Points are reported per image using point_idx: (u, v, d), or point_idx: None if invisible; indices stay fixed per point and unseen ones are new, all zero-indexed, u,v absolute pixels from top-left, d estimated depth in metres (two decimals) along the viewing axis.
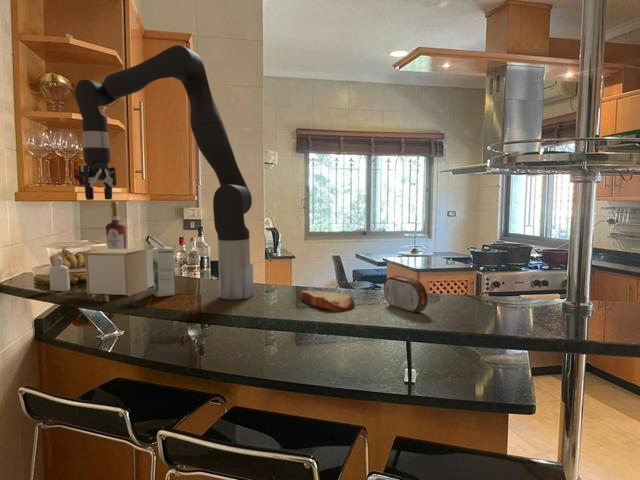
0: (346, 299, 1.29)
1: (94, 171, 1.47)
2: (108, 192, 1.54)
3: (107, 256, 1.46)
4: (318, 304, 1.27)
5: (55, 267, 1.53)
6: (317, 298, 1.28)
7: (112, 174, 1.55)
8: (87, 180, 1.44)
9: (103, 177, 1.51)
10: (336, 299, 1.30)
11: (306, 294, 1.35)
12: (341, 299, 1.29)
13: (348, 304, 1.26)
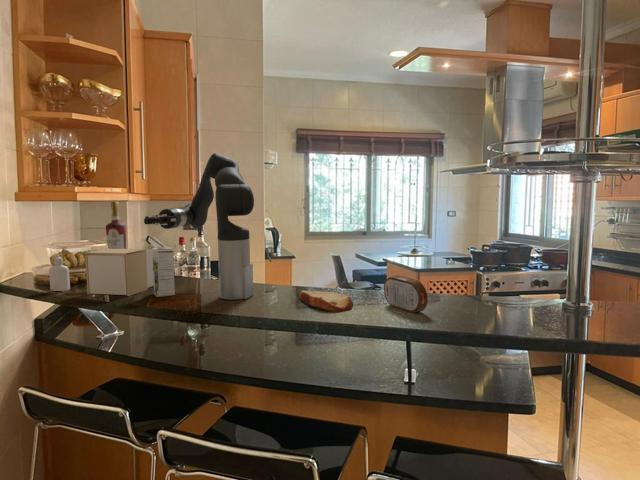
0: (344, 299, 1.28)
1: None
2: None
3: (107, 256, 1.46)
4: (316, 304, 1.27)
5: (55, 267, 1.53)
6: (315, 298, 1.28)
7: None
8: (147, 216, 1.73)
9: None
10: (334, 299, 1.29)
11: (305, 294, 1.35)
12: (339, 299, 1.29)
13: (346, 304, 1.26)
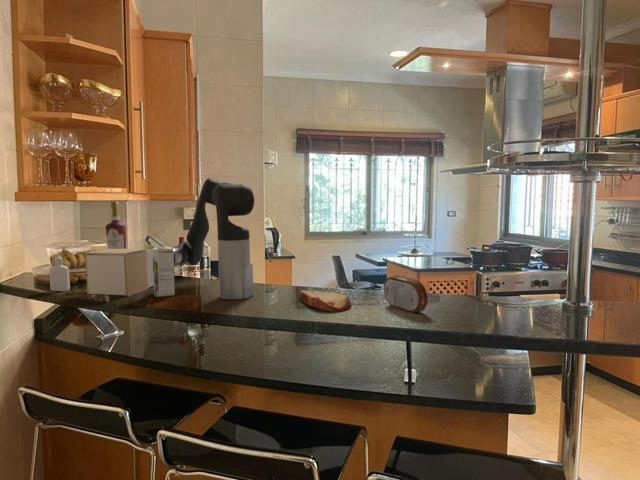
0: (342, 300, 1.28)
1: None
2: None
3: (106, 256, 1.46)
4: (313, 304, 1.27)
5: (55, 267, 1.53)
6: (313, 298, 1.28)
7: None
8: None
9: None
10: (332, 299, 1.29)
11: (304, 294, 1.35)
12: (337, 299, 1.29)
13: (343, 305, 1.25)
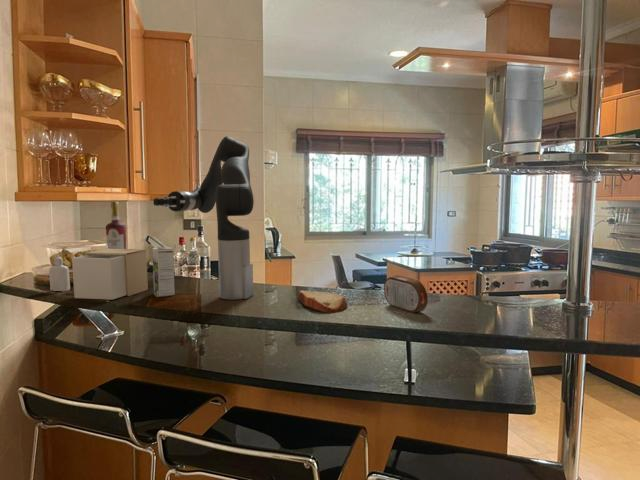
0: (338, 300, 1.27)
1: None
2: None
3: (92, 259, 1.40)
4: (309, 305, 1.26)
5: (55, 267, 1.53)
6: (308, 298, 1.28)
7: None
8: (156, 198, 1.71)
9: None
10: (328, 300, 1.29)
11: (301, 294, 1.35)
12: (333, 300, 1.28)
13: (338, 305, 1.25)
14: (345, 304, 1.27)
